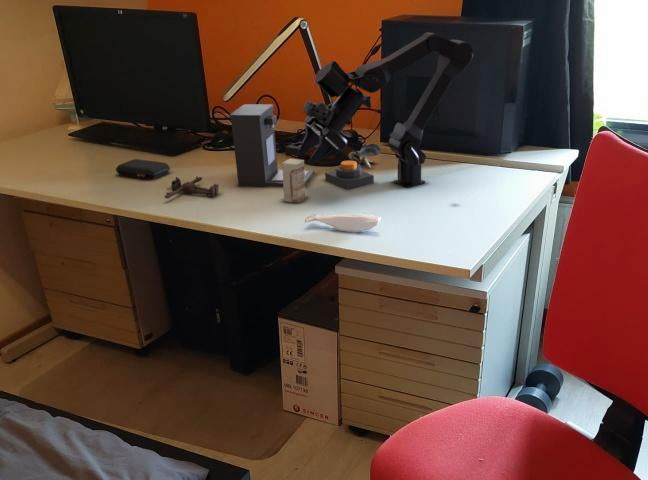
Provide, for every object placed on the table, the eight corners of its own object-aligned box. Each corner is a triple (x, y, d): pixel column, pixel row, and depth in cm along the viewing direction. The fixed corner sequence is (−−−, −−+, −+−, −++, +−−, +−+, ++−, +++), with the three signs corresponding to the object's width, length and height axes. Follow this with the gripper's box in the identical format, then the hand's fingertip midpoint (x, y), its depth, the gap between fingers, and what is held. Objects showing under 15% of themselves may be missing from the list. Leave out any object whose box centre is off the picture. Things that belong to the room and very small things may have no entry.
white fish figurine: (376, 237, 165) (375, 220, 163) (304, 230, 170) (302, 213, 168) (383, 229, 169) (383, 212, 167) (312, 222, 174) (311, 206, 172)
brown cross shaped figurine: (197, 195, 185) (149, 184, 189) (198, 210, 187) (151, 200, 191) (231, 175, 199) (186, 166, 203) (232, 190, 201) (187, 181, 205)
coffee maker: (314, 173, 209) (310, 104, 198) (304, 188, 197) (299, 115, 187) (251, 172, 212) (244, 104, 201) (237, 186, 200) (229, 115, 190)
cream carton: (298, 203, 187) (296, 164, 181) (283, 201, 188) (280, 163, 183) (307, 197, 191) (304, 159, 185) (292, 195, 192) (289, 157, 187)
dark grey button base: (373, 183, 200) (373, 168, 197) (347, 189, 195) (347, 175, 193) (351, 174, 207) (350, 160, 205) (325, 180, 203) (324, 166, 201)
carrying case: (111, 176, 212) (150, 182, 206) (109, 166, 210) (148, 171, 204) (135, 167, 220) (173, 172, 214) (133, 157, 218) (172, 161, 212)
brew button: (360, 169, 199) (359, 162, 198) (347, 172, 197) (346, 165, 196) (350, 165, 202) (350, 159, 201) (338, 168, 200) (337, 162, 199)
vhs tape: (335, 153, 227) (335, 146, 226) (321, 159, 222) (320, 152, 221) (300, 147, 234) (300, 141, 233) (285, 153, 229) (284, 146, 228)
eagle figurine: (372, 168, 207) (386, 155, 213) (358, 147, 205) (373, 134, 211) (355, 179, 213) (369, 166, 218) (341, 158, 211) (356, 145, 216)
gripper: (309, 81, 185) (272, 130, 187) (333, 94, 170) (292, 147, 173) (339, 110, 191) (302, 157, 194) (364, 125, 176) (324, 175, 179)
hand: (304, 158), depth 185 cm, fingers open, 9 cm apart
